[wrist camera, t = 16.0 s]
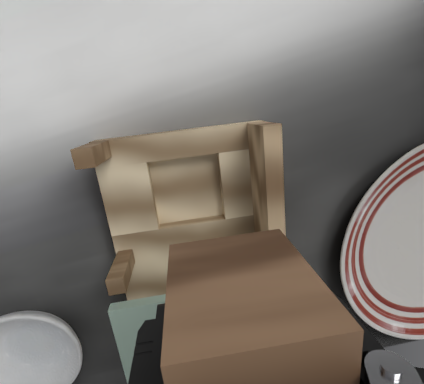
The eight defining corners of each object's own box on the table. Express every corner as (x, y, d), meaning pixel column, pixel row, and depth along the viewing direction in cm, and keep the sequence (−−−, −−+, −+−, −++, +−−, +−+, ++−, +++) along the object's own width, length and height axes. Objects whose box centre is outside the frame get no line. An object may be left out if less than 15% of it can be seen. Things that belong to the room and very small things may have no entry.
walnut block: (169, 244, 12) (160, 366, 6) (279, 228, 12) (364, 330, 7) (184, 334, 14) (187, 498, 8) (282, 317, 14) (352, 462, 8)
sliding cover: (110, 303, 24) (99, 334, 21) (287, 273, 25) (303, 298, 22) (130, 380, 27) (124, 418, 23) (289, 349, 28) (304, 382, 25)
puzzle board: (95, 140, 27) (66, 150, 20) (258, 120, 28) (284, 123, 21) (141, 334, 34) (131, 391, 27) (269, 311, 35) (292, 359, 28)
